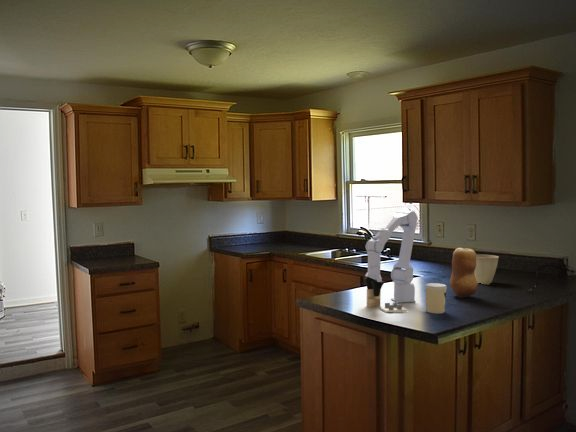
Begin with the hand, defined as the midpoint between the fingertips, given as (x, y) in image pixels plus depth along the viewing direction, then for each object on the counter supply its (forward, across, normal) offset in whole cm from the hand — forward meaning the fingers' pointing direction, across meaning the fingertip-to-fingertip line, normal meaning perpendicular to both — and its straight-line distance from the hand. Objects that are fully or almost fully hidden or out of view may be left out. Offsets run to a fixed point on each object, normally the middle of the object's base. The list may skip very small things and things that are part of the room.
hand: (373, 294), depth 244 cm
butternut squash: (+6, -11, +52) cm, 54 cm away
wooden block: (+6, 0, 0) cm, 6 cm away
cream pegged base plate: (+6, +9, +6) cm, 12 cm away
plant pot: (+5, -44, +85) cm, 96 cm away
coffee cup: (+6, +14, +24) cm, 28 cm away
